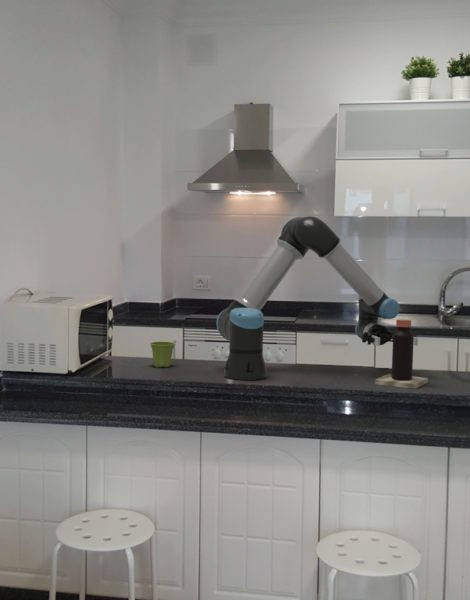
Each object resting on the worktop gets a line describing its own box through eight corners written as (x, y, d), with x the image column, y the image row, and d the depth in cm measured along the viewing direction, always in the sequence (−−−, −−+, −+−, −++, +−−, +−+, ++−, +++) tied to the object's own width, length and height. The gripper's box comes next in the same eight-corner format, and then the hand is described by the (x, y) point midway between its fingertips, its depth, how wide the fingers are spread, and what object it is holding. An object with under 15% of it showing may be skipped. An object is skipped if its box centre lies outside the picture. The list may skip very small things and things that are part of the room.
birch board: (374, 384, 237) (374, 379, 237) (388, 378, 249) (388, 373, 249) (416, 388, 230) (416, 384, 230) (428, 382, 242) (428, 378, 242)
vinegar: (390, 379, 237) (392, 320, 236) (392, 376, 244) (394, 318, 242) (411, 381, 235) (413, 321, 234) (412, 378, 242) (415, 319, 240)
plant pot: (179, 365, 267) (180, 343, 266) (164, 369, 259) (164, 345, 258) (160, 363, 272) (160, 340, 271) (144, 366, 264) (144, 343, 263)
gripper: (408, 344, 267) (431, 352, 246) (344, 344, 263) (362, 352, 242) (408, 324, 266) (432, 330, 245) (344, 324, 263) (363, 330, 242)
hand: (398, 341), depth 244 cm, fingers open, 13 cm apart
